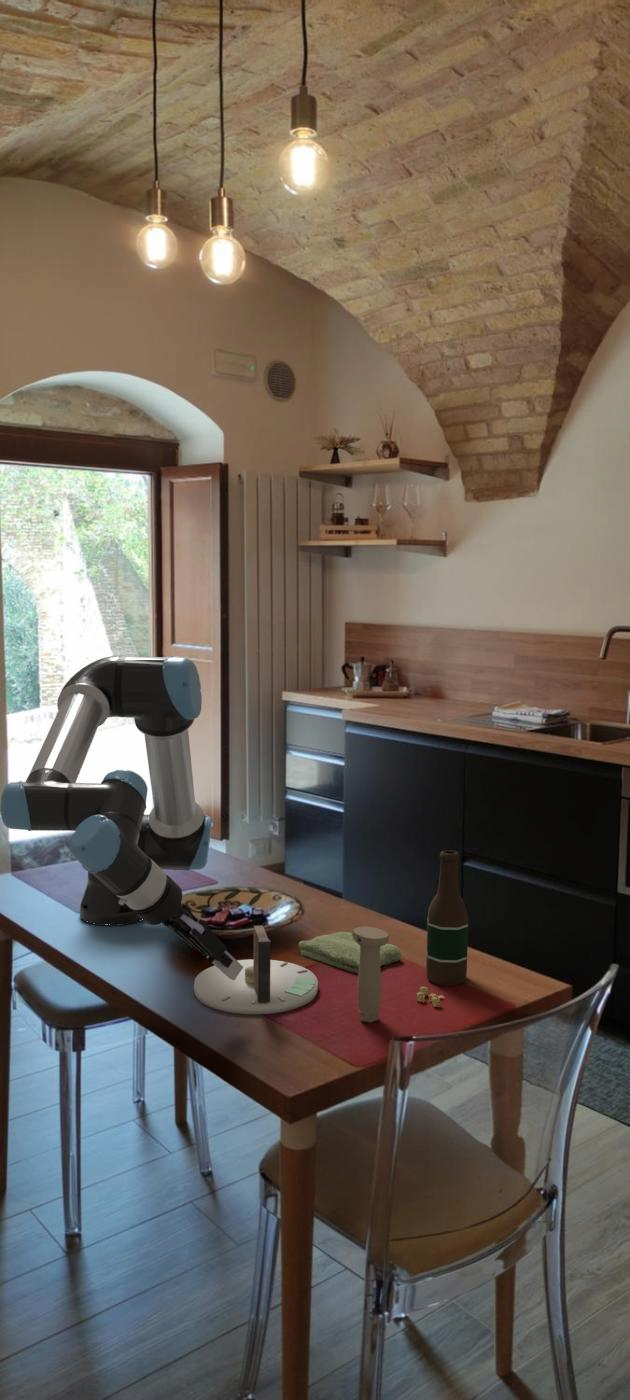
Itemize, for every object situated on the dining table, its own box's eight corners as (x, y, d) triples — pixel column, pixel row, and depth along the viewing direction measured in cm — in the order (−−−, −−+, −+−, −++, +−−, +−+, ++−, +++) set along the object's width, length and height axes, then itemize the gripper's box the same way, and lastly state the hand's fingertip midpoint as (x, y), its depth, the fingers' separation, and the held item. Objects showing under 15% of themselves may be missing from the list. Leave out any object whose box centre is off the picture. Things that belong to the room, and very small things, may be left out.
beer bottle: (417, 973, 197) (421, 848, 194) (454, 969, 200) (458, 845, 197) (436, 989, 190) (440, 858, 187) (474, 983, 193) (479, 855, 190)
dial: (218, 961, 202) (219, 953, 202) (330, 974, 196) (330, 965, 196) (175, 1005, 181) (175, 996, 180) (298, 1021, 175) (298, 1011, 175)
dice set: (438, 1012, 181) (438, 1001, 181) (410, 1006, 184) (410, 995, 183) (448, 1002, 186) (449, 991, 185) (421, 996, 188) (422, 985, 188)
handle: (367, 1009, 180) (369, 924, 178) (392, 1022, 175) (394, 935, 173) (345, 1016, 177) (346, 930, 176) (370, 1029, 172) (372, 940, 170)
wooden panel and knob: (243, 976, 190) (244, 918, 189) (265, 974, 191) (266, 917, 189) (252, 1003, 177) (252, 942, 176) (275, 1002, 178) (276, 941, 177)
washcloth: (339, 939, 217) (340, 924, 216) (405, 962, 204) (405, 946, 204) (293, 954, 207) (293, 938, 207) (359, 979, 195) (359, 963, 195)
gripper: (113, 901, 167) (200, 980, 179) (156, 922, 157) (246, 1003, 169) (142, 863, 170) (226, 943, 182) (187, 881, 160) (272, 964, 172)
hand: (236, 972), depth 176 cm, fingers closed
